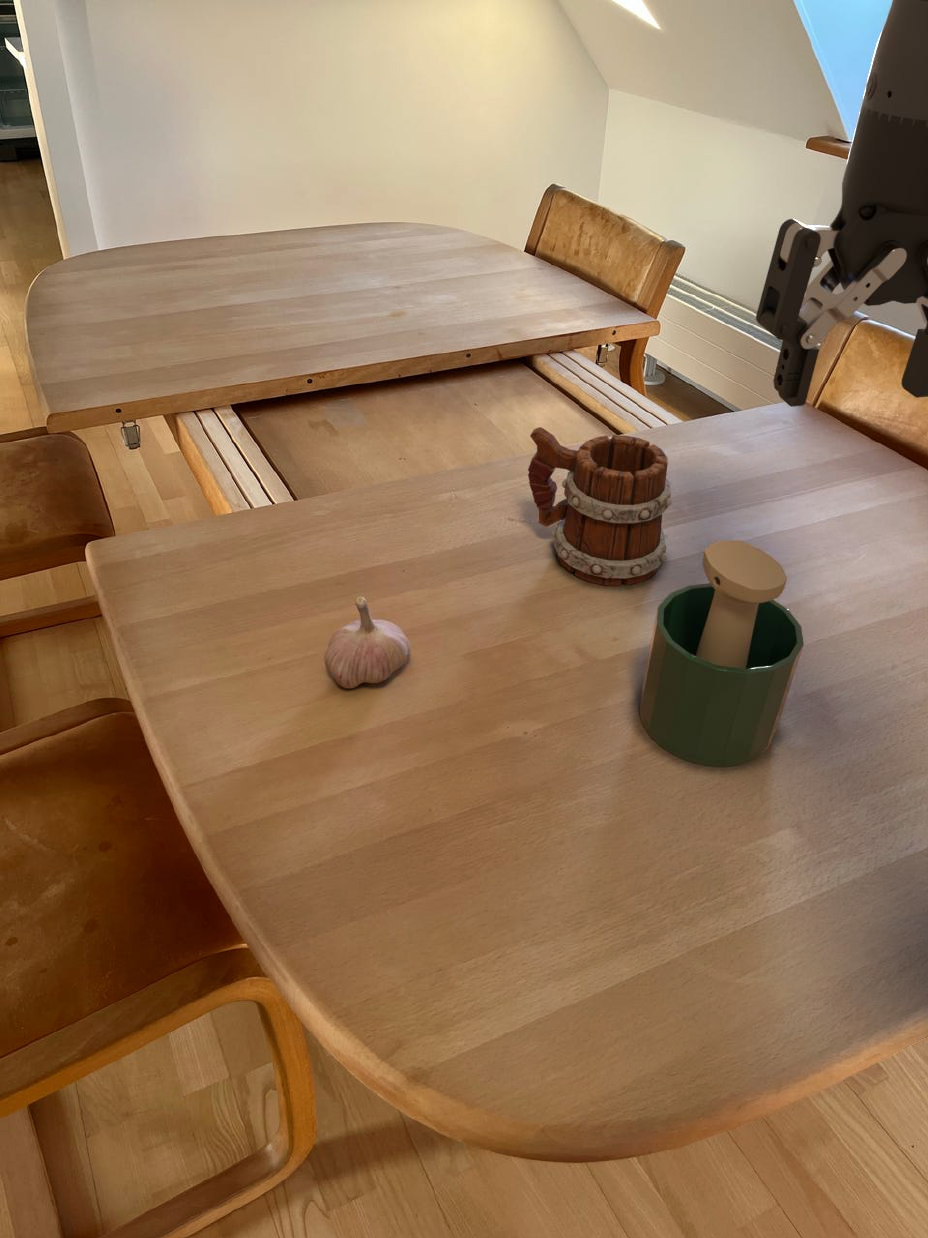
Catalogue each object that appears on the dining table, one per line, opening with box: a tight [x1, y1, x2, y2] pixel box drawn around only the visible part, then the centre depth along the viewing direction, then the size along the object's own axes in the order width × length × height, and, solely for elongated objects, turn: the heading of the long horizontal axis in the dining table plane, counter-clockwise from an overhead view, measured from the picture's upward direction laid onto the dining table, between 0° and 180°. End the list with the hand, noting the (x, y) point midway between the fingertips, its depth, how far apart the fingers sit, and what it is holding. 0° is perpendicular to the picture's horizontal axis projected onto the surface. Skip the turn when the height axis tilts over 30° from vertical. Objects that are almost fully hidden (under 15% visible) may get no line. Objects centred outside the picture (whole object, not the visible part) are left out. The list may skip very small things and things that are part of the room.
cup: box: [639, 582, 805, 768], centre depth 75 cm, size 11×11×10 cm
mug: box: [527, 426, 673, 587], centre depth 93 cm, size 12×14×15 cm
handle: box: [696, 539, 788, 669], centre depth 73 cm, size 5×6×15 cm
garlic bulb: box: [324, 596, 412, 689], centre depth 80 cm, size 8×7×8 cm
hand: (853, 396), depth 58 cm, fingers open, 8 cm apart
